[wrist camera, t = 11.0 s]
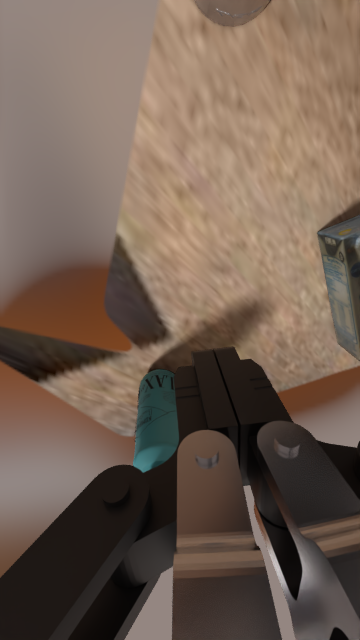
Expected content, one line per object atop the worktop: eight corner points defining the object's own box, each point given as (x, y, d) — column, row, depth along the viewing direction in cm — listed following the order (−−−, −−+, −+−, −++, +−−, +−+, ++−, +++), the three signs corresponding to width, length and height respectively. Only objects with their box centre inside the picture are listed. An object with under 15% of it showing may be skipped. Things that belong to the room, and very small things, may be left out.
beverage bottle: (186, 369, 45) (206, 491, 27) (170, 400, 48) (179, 530, 30) (147, 357, 44) (141, 477, 26) (133, 389, 46) (119, 520, 28)
